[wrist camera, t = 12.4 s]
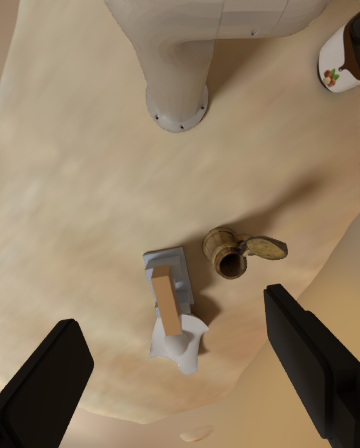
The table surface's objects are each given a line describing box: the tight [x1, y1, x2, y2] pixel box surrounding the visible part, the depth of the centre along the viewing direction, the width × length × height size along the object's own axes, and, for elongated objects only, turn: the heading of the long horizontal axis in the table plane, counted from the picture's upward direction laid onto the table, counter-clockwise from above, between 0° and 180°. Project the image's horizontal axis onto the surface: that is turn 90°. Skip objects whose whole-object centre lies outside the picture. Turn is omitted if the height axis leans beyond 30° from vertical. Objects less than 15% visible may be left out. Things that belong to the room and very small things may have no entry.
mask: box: [148, 313, 210, 376], centre depth 50 cm, size 20×8×15 cm
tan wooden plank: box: [151, 264, 182, 336], centre depth 41 cm, size 14×4×5 cm, turn 11°
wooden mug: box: [202, 228, 288, 279], centre depth 37 cm, size 9×14×18 cm, turn 140°
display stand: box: [143, 247, 194, 318], centre depth 46 cm, size 16×10×6 cm, turn 11°
